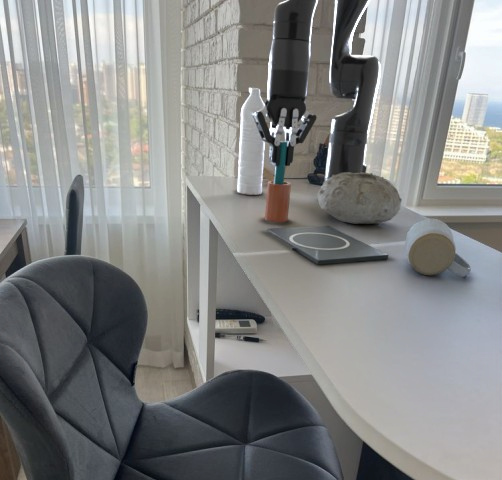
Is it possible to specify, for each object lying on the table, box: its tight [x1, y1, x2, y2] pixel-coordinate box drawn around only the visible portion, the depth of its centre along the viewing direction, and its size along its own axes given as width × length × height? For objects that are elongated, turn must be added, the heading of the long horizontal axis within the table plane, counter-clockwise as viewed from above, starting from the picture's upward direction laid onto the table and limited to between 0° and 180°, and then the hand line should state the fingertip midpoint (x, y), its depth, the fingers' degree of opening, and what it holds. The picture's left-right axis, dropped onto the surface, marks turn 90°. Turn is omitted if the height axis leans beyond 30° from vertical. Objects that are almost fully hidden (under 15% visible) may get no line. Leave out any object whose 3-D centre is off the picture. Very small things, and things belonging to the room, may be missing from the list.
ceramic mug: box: [404, 218, 472, 278], centre depth 81 cm, size 11×8×8 cm
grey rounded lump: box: [317, 172, 403, 225], centre depth 109 cm, size 18×18×10 cm
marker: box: [273, 140, 288, 184], centre depth 103 cm, size 2×2×13 cm
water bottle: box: [236, 87, 268, 196], centre depth 129 cm, size 9×6×25 cm
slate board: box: [266, 225, 389, 266], centre depth 93 cm, size 14×20×1 cm
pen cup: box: [264, 180, 292, 223], centre depth 105 cm, size 5×5×8 cm
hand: (280, 165), depth 102 cm, fingers closed on marker, 2 cm apart
